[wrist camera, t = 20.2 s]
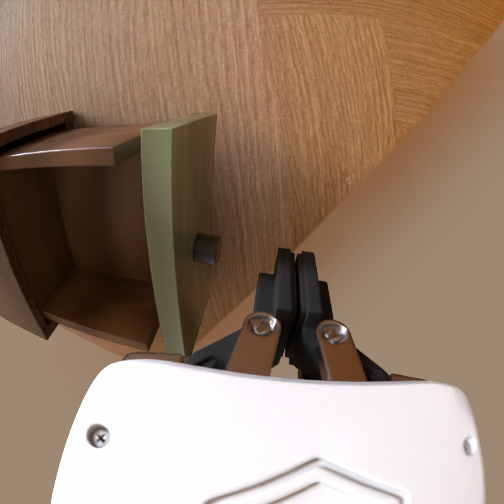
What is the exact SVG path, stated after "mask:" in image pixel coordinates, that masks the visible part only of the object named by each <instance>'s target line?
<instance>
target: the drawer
mask: <svg viewBox="0 0 504 504" xmlns="http://www.w3.org/2000/svg"><path fill="white" fill-rule="evenodd" d="M216 120H217V114H216V113H194V114H190V115H186V116H182V117H178V118H175V119H171V120H168V121H164V122H161V123H158V124H142V125H117V126H103V127H91V128H81V129H72V130H64V131H57V132H51V133H48V134H46V135H43V136H40V137H38V138H35V139H32V140H30V141H27V142H25V143H23V144H20V145H18V146H16V147H13V148H11V149H9V150H7V151H4V152H2V153H0V202H1V206H2V210H3V214H4V218H5V221H6V225H7V228H8V232H9V235H10V238H11V241H12V244H13V247H14V250H15V253H16V256H17V259H18V261H19V264H20V267H21V269H22V272H23V274H24V277H25V279H26V282H27V284H28V286H29V288H30V291H31V293H32V295H33V297H34V300H35V302H36V304H37V306H38V308H39V310H40V312H41V314H42V316H43V317H45V318H47V319H50V320H52V321H55V322H57V323H60V324H62V325H65V326H68V327H70V328H73V329H76V330H78V331H81V332H84V333H87V334H90V335H93V336H96V337H99V338H102V339H105V340H108V341H112V342H115V343H118V344H122V345H125V346H129V347H132V348H136V349H140V350H143V351H147V352H148V351H149V349H150V347H151V344H152V342H153V340H154V337H155V335H156V333H157V330H158V328H159V326H160V327H161V332H162V337H163V342H164V346H165V351H166V353H182V356H191V355H192V351H193V348H194V345H195V341H196V338H197V335H198V332H199V328H200V325H201V322H202V319H203V316H204V312H205V309H206V306H207V303H208V300H209V274H210V265H217V263H218V261H219V257H220V252H221V236H220V235H214V234H210V229H211V202H212V181H213V163H214V147H215V133H216Z"/></svg>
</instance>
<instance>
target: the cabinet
mask: <svg viewBox="0 0 504 504" xmlns="http://www.w3.org/2000/svg"><path fill="white" fill-rule="evenodd" d="M72 129H73V111H68V112H63V113H57V114H53V115H48V116H43V117H39V118H35V119H31V120H27V121H23V122H19V123H16V124H12V125H9V126H6V127H2V128H0V153H2V152H4V151H7V150H9V149H11V148H13V147H16V146H18V145H20V144H23V143H25V142H27V141H30V140H32V139H35V138H38V137H40V136H43V135H46V134H48V133H51V132H57V131H64V130H72ZM0 316H1V317H3V318H5V319H6V320H8V321H10V322H12V323H14V324H16V325H17V326H19V327H21V328H23V329H25V330H27V331H29V332H31V333H33V334H35V335H37V336H39V337H41V338H43V339H45V340H48V339H49V337H50V336H51V334H52V333H53V331H54V330H55V328H56V327H57V326H58V324H59V323H57V322H55V321H52V320H50V319H47V318H45V317H43V316H42V314H41V312H40V310H39V308H38V306H37V304H36V302H35V300H34V297H33V295H32V293H31V291H30V288H29V286H28V284H27V282H26V279H25V277H24V274H23V272H22V269H21V267H20V264H19V261H18V259H17V256H16V253H15V250H14V247H13V244H12V241H11V238H10V235H9V232H8V228H7V225H6V221H5V218H4V214H3V210H2V206H1V202H0Z"/></svg>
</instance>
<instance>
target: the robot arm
mask: <svg viewBox="0 0 504 504" xmlns="http://www.w3.org/2000/svg"><path fill="white" fill-rule="evenodd" d="M294 257H295V256H294V253H291V252H290V249H285V248H278V253H277V258H276V264H275V269H274V274H266V273H259V277H258V283H257V290H256V297H255V304H254V311H253V313H251V314H250V315H248V316H247V317H246V318H245V320H244V322H243V325H242V328H241V329H240V330H238V331H236V332H234V333H232V334H230V335H228V336H226V337H224V338H222V339H221V340H219V341H217V342H215V343H213V344H211V345H209V346H207V347H205V348H202V349H201V350H199V351H196V352H195V353H193V354H192V355H191V356H182V353H150V352H132V353H130V354H128V355H126V356H125V357H124V358H123V360H122V361H120V362H116V363H113V364H111V365H109V366H107V367H106V368H104V369H103V370H102V371H101V372H100V373H99V375H98V376H97V377H96V379H95V380H94V382H93V383H92V385H91V387H90V388H89V390H88V392H87V394H86V396H85V398H84V400H83V402H82V404H81V406H80V409H79V411H78V413H77V416H76V418H75V421H74V423H73V426H72V429H71V431H70V434H69V437H68V440H67V443H66V446H65V449H64V453H63V456H62V459H61V463H60V466H59V470H58V474H57V478H56V482H55V487H54V491H53V496H52V502H51V504H487V493H486V476H485V466H484V459H483V453H482V447H481V441H480V436H479V432H478V428H477V425H476V420H475V417H474V414H473V411H472V408H471V406H470V403H469V401H468V399H467V397H466V395H465V394H464V392H463V391H461V390H460V389H459V388H456V387H455V386H453V385H450V384H447V383H443V382H438V381H427V380H424V379H418V378H413V377H408V376H403V375H397V374H391V375H388V374H387V373H386V372H385V371H384V370H383V369H382V368H381V367H380V366H378V365H377V364H375V363H374V362H373V361H372V360H371V359H369V358H368V357H367V356H366V355H364V354H363V353H362V352H360V351H359V350H358V349H357V348H356V347H355V344H354V342H353V339H352V336H351V334H350V331H349V329H348V328H347V327H346V326H345V325H344V324H343V323H341V322H339V321H336V320H333V313H332V307H331V302H330V296H329V291H328V285H327V282H324V281H318V275H317V268H316V262H315V256H314V253H312V252H305V251H302V253H301V254H297V257H296V261H295V258H294ZM284 349H285V357H288V358H289V364H290V365H294V366H295V367H296V368H297V369H298V379H290V378H279V377H270V372H271V368H273V367H274V366H276V365H277V364H279V361H280V358H281V357H282V356H283V353H284Z"/></svg>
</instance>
